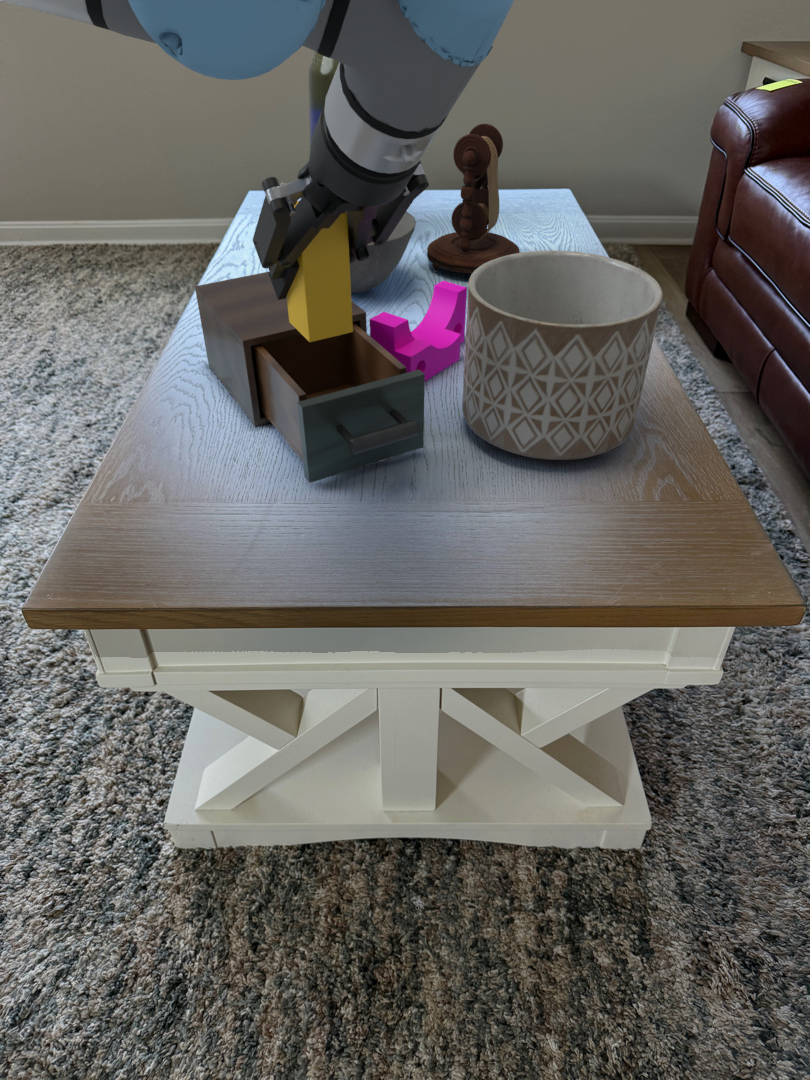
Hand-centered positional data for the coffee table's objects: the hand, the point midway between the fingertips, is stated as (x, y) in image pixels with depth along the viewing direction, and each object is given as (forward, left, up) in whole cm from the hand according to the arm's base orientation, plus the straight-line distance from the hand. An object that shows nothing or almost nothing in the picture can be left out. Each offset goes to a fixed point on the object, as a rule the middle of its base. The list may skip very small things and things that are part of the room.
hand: (302, 280), depth 75 cm
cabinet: (+2, +14, -18) cm, 23 cm away
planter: (+24, -10, -18) cm, 32 cm away
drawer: (+2, -3, -17) cm, 18 cm away
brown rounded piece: (+43, +35, -18) cm, 59 cm away
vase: (+33, +58, -18) cm, 70 cm away
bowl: (+22, +36, -18) cm, 46 cm away
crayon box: (0, -4, -3) cm, 5 cm away
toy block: (+20, +10, -18) cm, 29 cm away
